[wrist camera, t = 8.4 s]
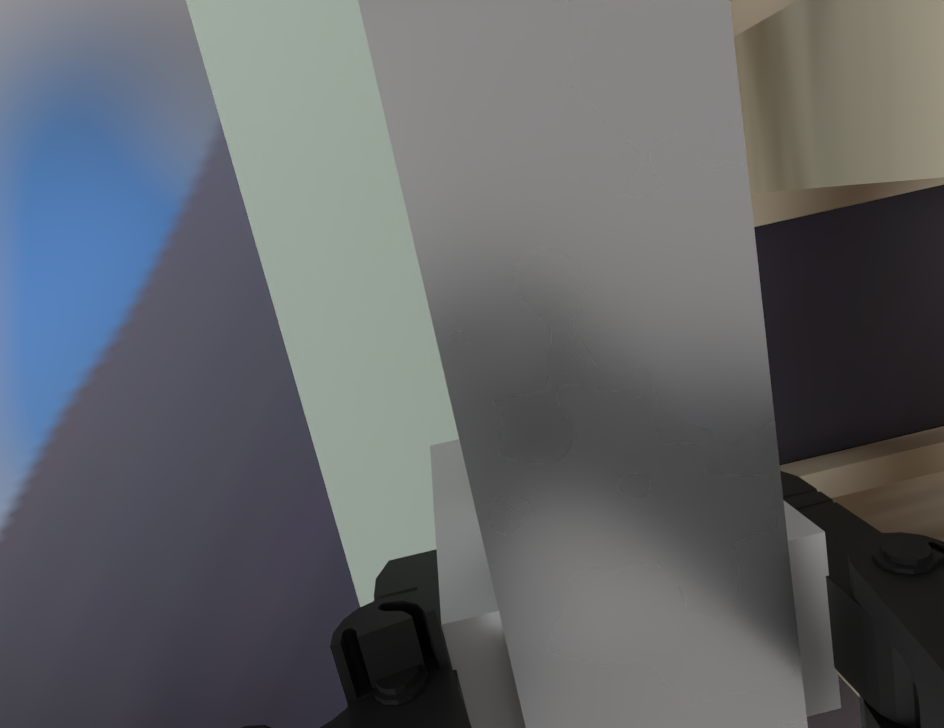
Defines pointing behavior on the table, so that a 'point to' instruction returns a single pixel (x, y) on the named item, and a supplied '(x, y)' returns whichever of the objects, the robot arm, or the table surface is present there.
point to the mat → (335, 260)
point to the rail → (602, 347)
